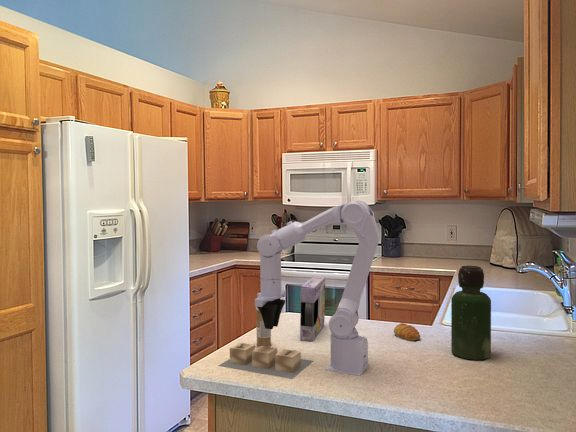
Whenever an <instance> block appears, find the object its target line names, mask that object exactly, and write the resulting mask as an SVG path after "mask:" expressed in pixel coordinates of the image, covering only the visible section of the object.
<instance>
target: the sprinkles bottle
mask: <svg viewBox="0 0 576 432" xmlns="http://www.w3.org/2000/svg"><path fill="white" fill-rule="evenodd" d="M255 311H256V315H255V316H256V322H255V323H256V324H255V325H256V347H257V348H258V347H260V346H266V347H272V337H271V336H272V329H265V326H264V322H263V318H262V315H261V313H260V311H259V309H258V307H257V306H255Z"/></svg>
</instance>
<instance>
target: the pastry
mask: <svg viewBox="0 0 576 432" xmlns="http://www.w3.org/2000/svg"><path fill="white" fill-rule="evenodd" d="M393 334H394V335H395V337H397V338H399V339H402V340H405V341H411V342H412V341H417V340H420V338H421V335H420V331H418V329H416V327H414V326H412V325H411V324H407V323H403V322H401V323H399V324H396V326H395V327H394V329H393Z"/></svg>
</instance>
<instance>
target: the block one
mask: <svg viewBox="0 0 576 432" xmlns="http://www.w3.org/2000/svg"><path fill="white" fill-rule="evenodd" d="M301 359H302V352H301V351H298V350H292V349H285V348H283V349H282V350H280V351H278V352H277V354H276V355H275V370H278V371H284V372H290V373H294V372H295V371H296V370H297V369H299V368H300V367H301Z"/></svg>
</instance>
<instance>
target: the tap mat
mask: <svg viewBox="0 0 576 432" xmlns="http://www.w3.org/2000/svg"><path fill="white" fill-rule="evenodd" d="M314 362H315V360H311V359H305V358H301V367H300V368H299V369H297V370H296V371H295V372H294V373H290V372H284V371H278V370H275V365H274V366H272V367H271V368H269V369H266V368H260V367H255V366H252V361H251V362H250V363H248V364H246V365H243V364H237V363H231V362H230V358H229V359H227V360H225V361H224V362H222V363H220V364H218V365H217V366H218V367H223V368H227V369H234V370H240V371H246V372H251V373H256V374H263V375H266V376H267V375H268V376H273V377H279V378H285V379H289V380H290V379H291V380H293V379H294V378H295V377H297V376H298V375H299V374H301V372H302V371H304V370H305V369H306V368H308V367H309V366H310V365H312V364H313V363H314Z"/></svg>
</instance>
